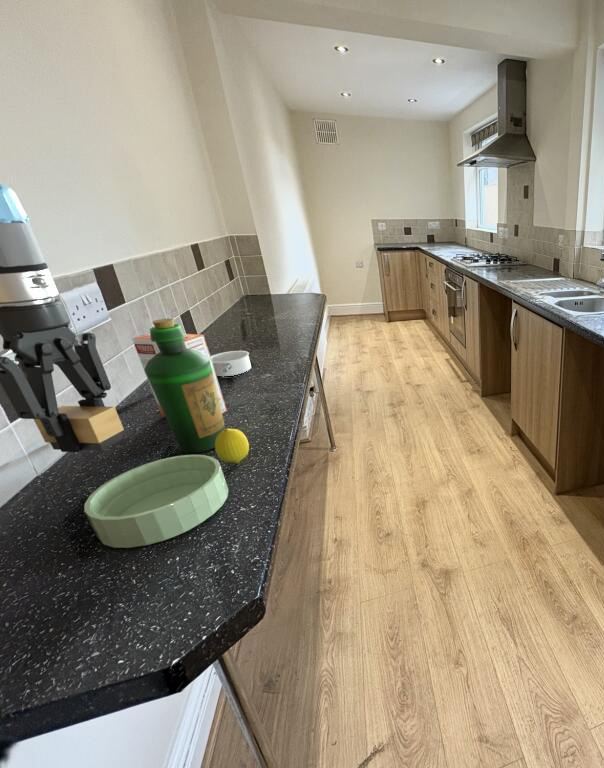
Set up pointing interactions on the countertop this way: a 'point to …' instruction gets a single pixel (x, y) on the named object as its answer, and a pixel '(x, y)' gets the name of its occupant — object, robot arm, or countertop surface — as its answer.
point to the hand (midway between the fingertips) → (88, 442)
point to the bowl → (156, 501)
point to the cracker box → (191, 341)
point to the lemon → (231, 445)
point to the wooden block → (89, 426)
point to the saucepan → (231, 363)
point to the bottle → (184, 389)
